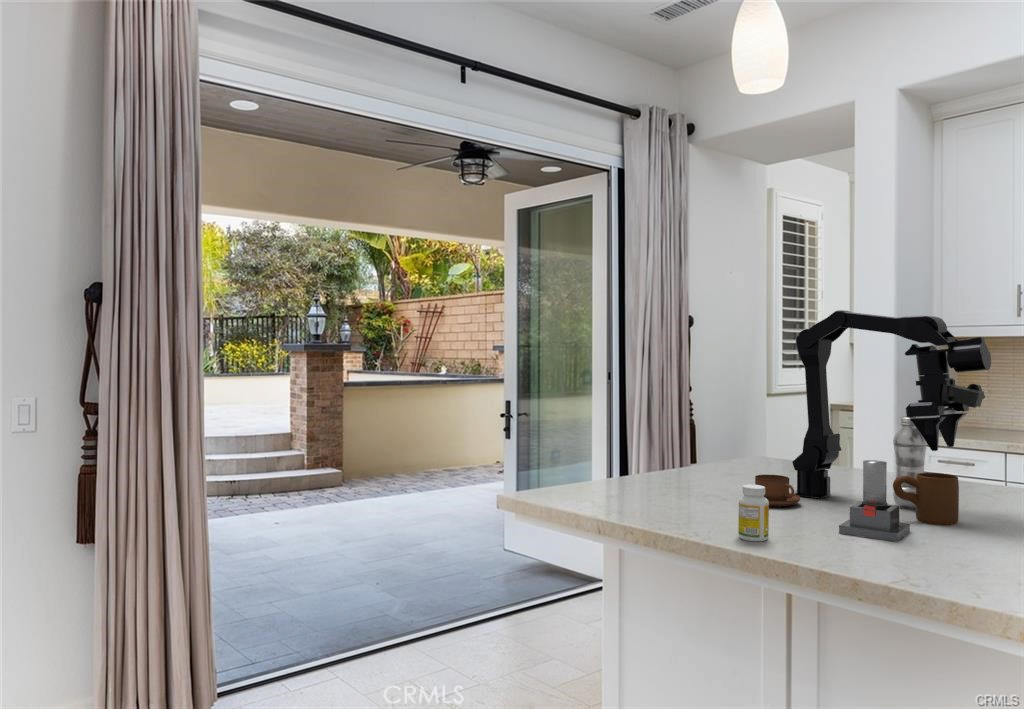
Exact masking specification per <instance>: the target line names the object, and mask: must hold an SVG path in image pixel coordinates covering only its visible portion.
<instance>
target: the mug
mask: <svg viewBox="0 0 1024 709" xmlns="http://www.w3.org/2000/svg"><path fill="white" fill-rule="evenodd" d="M902 483H907V484H909V485H912V486H914V487H916V495H915V494H913V493H910V492H905V491H903V490H902V487H901V484H902ZM892 489H893V493H894V492H895V494H896V495H897V496H898V497H899V498H901V499H903V500H907V501H911V502H912V503H914V504H915V505H916V508H915V518H916V520H917V521H918V522H920V523H924V524H927V525H928V524H929V525H934V526H954V525H957V524H958V522H959V516H960V515H959V510H960V509H959V508H960V504H959V503H960V499H959V498H960V484H959V477H958V476H957V475H955V474H954V475H953V474H949V473H942V472H939V473H938V472H924V473H918V474H917V475H916V479H915V478H912V477H910V476H906V475H905V476H900V477H897V478H896V477H895V479H894V480H893V483H892Z"/></svg>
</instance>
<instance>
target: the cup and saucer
mask: <svg viewBox="0 0 1024 709" xmlns="http://www.w3.org/2000/svg"><path fill="white" fill-rule="evenodd" d="M754 480H755V481H754V482H755V483H754V485H760V486H764V487H765V495H764V497H765V498H766V499H767V500H768V501H769V507H773V508H774V507H788V506H789V507H790V506H793V505H794V506H795V505H796V504H798V503H799V502H800V501H801V496H798V495H795V494H794V493H795V490H794V487H793V485H792V484H790V477H789V476H785V475H782V474H781V475H779V474H757V475H755V477H754ZM790 491H791V492H790Z"/></svg>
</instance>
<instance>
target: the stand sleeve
mask: <svg viewBox="0 0 1024 709" xmlns="http://www.w3.org/2000/svg"><path fill="white" fill-rule="evenodd" d="M862 501H863V500H859V501H857V502H856V503H854V504H852V505H850V506H849V519H848V520H846V521H844V522H843V523H840V524H839V525H838V534H843V535H848V536H856V537H862V538H869V539H875V540H881V541H889V542H894V543H898V542H899V541H900V540H902V539H903V538H904V537H905V536H906V535H907V533H908V534H909V533H910V531H911V523H906V522H900V506H899V505H897V504H888V506H887V507H886V510H880V509H877V506H869V505H865V506H864V507H863V504H862Z"/></svg>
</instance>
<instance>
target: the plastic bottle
mask: <svg viewBox="0 0 1024 709" xmlns="http://www.w3.org/2000/svg"><path fill="white" fill-rule="evenodd" d="M911 418H917V417H907V415H906V416H904V415H903V416H901V417H900V423H899V425H900V426H901V427H900V428H899V430H898V431H897V432H896V433H895V435H894V437H893V440H892V443H893V450H894V456H895V464H896V466H895V470H896V471H895V472H896V473H895V479H896V478H897V477H900V476H905V475H906V476H910V477H912V478H915V479H916V475H917V474H918V473H925V467H924V466H925V459H926V458H925V457H926V452H927V451H926V450H927V446H928V444H927V443H926V441H925V439H924V438H923V436H922V435H921V433H920V432H919V430H918V429H917V428H916V426H915V425H914V423H913V422H912V421H910V419H911ZM901 487H902V490H903V491H905V492H910V493H913V494H915V495H916V487H914V486H912V485H909V484H907V483H902V484H901ZM892 496H893V501H894V502H895V505H897V506H899V507H903V508H906V509H916V505H915V504H914V503H912V502H911V501H907V500H903V499H901V498H899V497H898V496H897V495H896V494H895V492H894V491H893V494H892Z"/></svg>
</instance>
